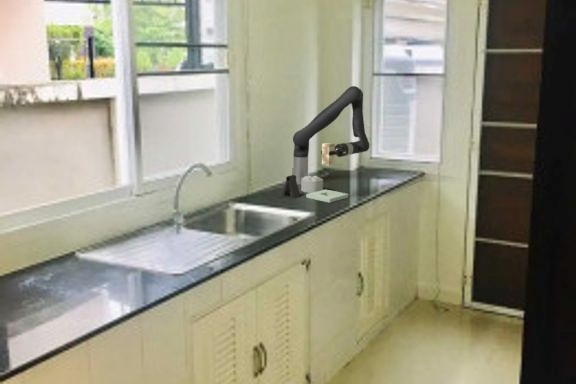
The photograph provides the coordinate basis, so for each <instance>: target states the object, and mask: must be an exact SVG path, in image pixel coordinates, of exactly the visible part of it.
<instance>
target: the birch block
mask: <svg viewBox="0 0 576 384" xmlns="http://www.w3.org/2000/svg"><path fill="white" fill-rule="evenodd" d="M335 146H336V143H331V142H325V143H324V142H323V143H322V144H321V150H322V154H321V166H326V167H330V166H334V165H335V156H336V155H331V156H329V152H330V151H334V150H335Z"/></svg>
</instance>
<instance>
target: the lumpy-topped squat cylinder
mask: <svg viewBox="0 0 576 384" xmlns="http://www.w3.org/2000/svg"><path fill="white" fill-rule="evenodd" d="M300 186H301V188H300V190H301V191H302V192H304V193H307V194H309V193H313V192H317V191H321V190H324V178H321V177H320V176H318V175H313V176H312V175H308V176H305V177H303V178H302V179H301V185H300Z"/></svg>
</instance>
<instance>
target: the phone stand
mask: <svg viewBox="0 0 576 384" xmlns="http://www.w3.org/2000/svg"><path fill="white" fill-rule="evenodd" d="M298 186H299V185H298V184H297V182H296V176H295V175H292V174H291V175H288V176H286V177H285V183H284V187H283V190H282V193H281V197H285V198H290V197H291V198H290V199H296V198H299V197H301V193H300V189H299V187H298Z"/></svg>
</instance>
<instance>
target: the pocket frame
mask: <svg viewBox="0 0 576 384" xmlns="http://www.w3.org/2000/svg"><path fill="white" fill-rule="evenodd" d="M305 196H306V197H305V198H307V199H312V200H316V201H321V202H325V203H333V202H337V201H340V200H344V199H347V198H349V193H345V192H342V191H341V192H339V191H334V190H329V189H323V190H321V191H317V192H313V193H306V194H305Z"/></svg>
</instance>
